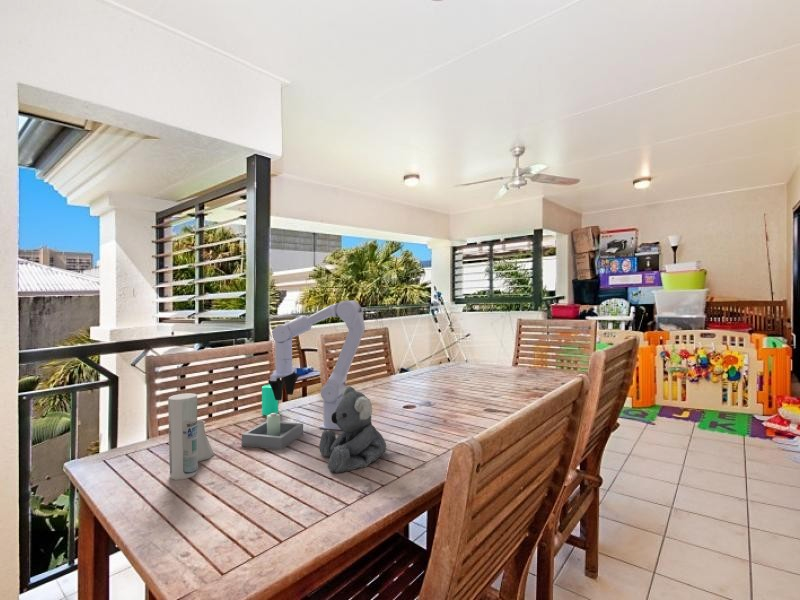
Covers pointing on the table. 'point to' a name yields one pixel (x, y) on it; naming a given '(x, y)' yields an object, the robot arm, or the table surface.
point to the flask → (203, 443)
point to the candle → (268, 401)
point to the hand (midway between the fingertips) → (284, 397)
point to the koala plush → (352, 434)
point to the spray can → (183, 435)
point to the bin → (262, 440)
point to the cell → (273, 424)
